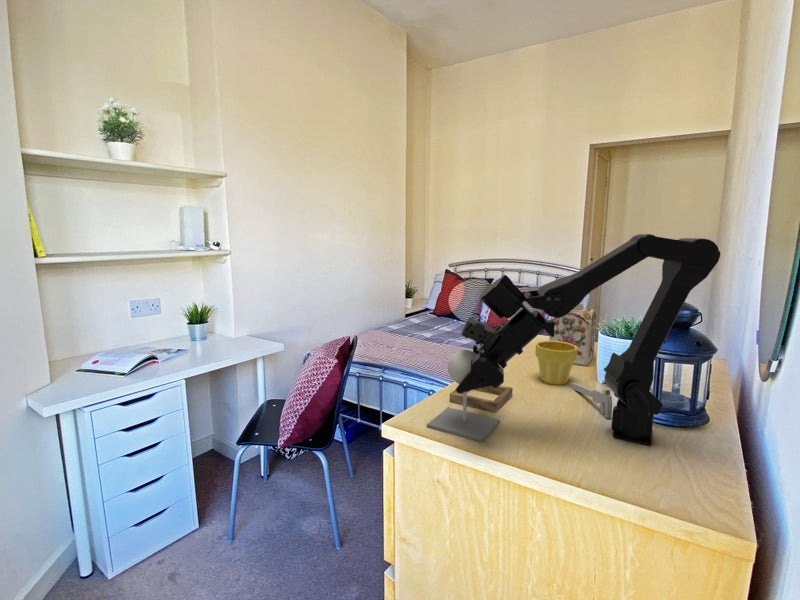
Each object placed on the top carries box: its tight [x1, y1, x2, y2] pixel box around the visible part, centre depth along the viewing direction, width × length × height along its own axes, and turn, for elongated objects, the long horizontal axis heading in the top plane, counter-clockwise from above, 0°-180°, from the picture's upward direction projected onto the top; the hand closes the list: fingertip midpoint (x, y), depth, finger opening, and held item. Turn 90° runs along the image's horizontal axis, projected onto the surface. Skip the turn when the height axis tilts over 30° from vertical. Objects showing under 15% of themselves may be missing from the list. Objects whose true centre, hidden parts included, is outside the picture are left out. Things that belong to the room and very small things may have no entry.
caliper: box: [568, 382, 613, 419], centre depth 99 cm, size 20×1×6 cm, turn 0°
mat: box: [426, 407, 501, 443], centre depth 87 cm, size 12×10×1 cm
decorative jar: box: [548, 302, 597, 367], centre depth 131 cm, size 12×12×18 cm
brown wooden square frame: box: [449, 384, 514, 413], centre depth 101 cm, size 11×11×2 cm
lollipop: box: [447, 349, 477, 421], centre depth 86 cm, size 7×7×15 cm
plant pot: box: [535, 340, 577, 386], centre depth 112 cm, size 10×10×10 cm
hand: (458, 385), depth 86 cm, fingers closed on lollipop, 7 cm apart
